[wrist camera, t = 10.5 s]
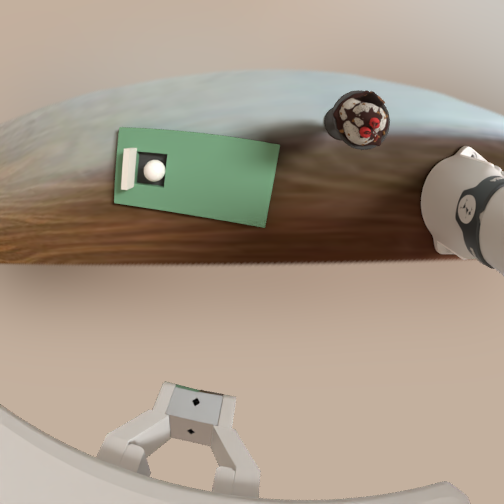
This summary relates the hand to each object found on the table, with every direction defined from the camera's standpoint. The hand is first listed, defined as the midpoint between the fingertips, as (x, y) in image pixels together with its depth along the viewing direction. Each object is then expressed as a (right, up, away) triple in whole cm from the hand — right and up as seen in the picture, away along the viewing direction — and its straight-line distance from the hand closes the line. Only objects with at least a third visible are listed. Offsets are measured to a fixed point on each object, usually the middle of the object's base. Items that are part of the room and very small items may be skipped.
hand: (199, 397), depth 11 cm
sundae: (+15, +24, +26) cm, 38 cm away
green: (-7, +17, +30) cm, 36 cm away
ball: (-12, +18, +29) cm, 36 cm away
